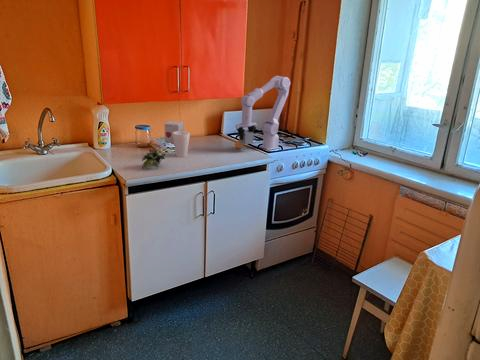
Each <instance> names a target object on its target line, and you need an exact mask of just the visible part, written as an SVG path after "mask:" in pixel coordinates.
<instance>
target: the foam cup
mask: <svg viewBox="0 0 480 360" xmlns="http://www.w3.org/2000/svg"><path fill="white" fill-rule="evenodd" d="M190 135H191V132H189V131H187V130H184V131H175V132H173V139H174V146H175V149H174V152H175V156H176V157H178V158H185V157H187V156H188V151H189V143H190V137H191V136H190Z"/></svg>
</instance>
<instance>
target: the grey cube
mask: <svg viewBox="0 0 480 360" xmlns="http://www.w3.org/2000/svg"><path fill="white" fill-rule="evenodd" d="M254 133H255V131H254V132H250V131H248V130H245V131H244V135H243V140H240V137H238V138H239V139H238V140H239V143H242V144H243V145H249V144H254Z"/></svg>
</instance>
